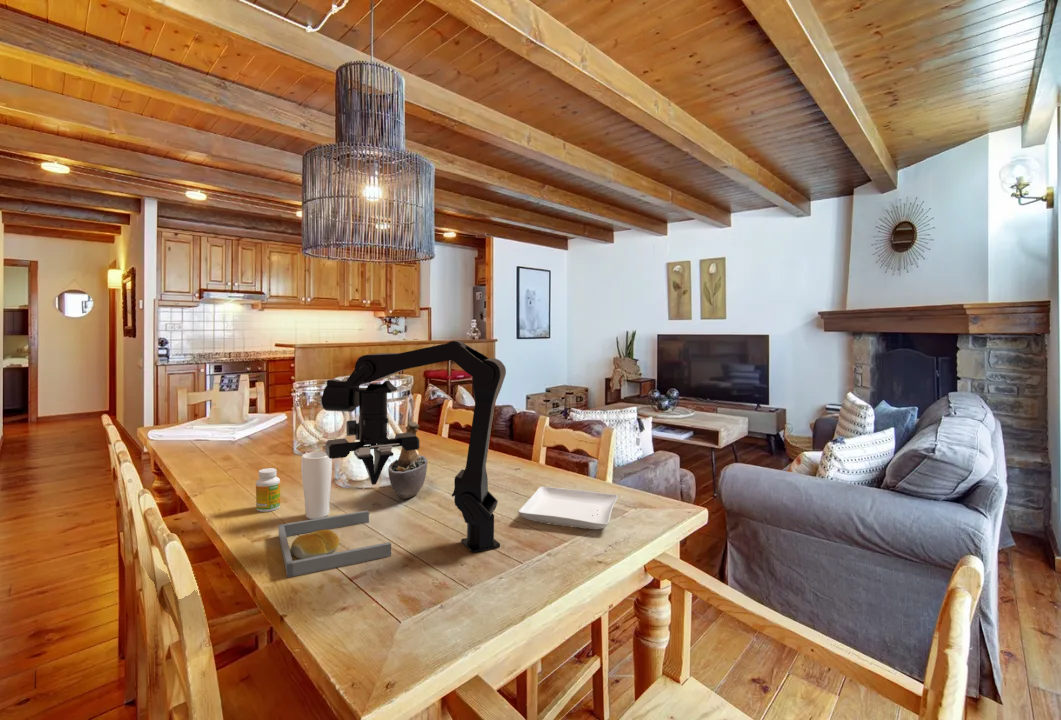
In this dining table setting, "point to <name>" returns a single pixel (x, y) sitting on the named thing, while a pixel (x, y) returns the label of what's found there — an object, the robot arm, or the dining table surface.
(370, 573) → the dining table surface
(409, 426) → the mortar and pestle
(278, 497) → the supplement bottle
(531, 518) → the salad plate
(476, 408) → the robot arm
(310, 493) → the drinking glass
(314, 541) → the bread roll
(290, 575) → the gray three-sided bracket
